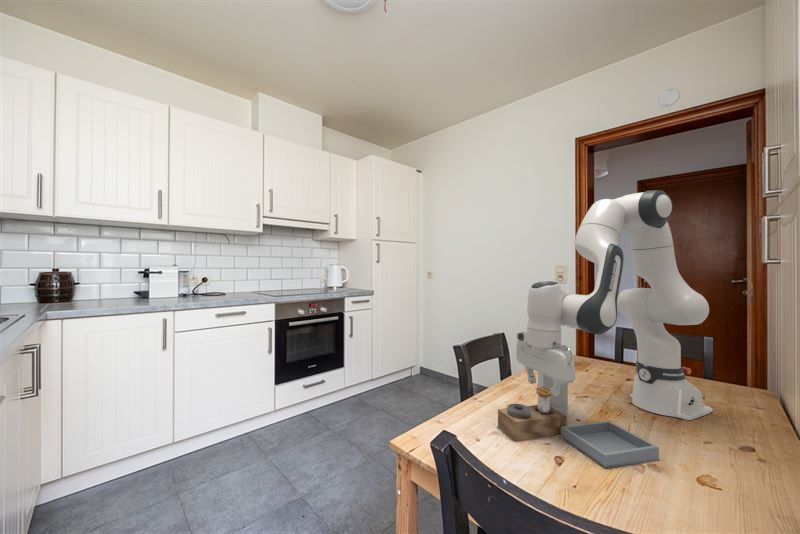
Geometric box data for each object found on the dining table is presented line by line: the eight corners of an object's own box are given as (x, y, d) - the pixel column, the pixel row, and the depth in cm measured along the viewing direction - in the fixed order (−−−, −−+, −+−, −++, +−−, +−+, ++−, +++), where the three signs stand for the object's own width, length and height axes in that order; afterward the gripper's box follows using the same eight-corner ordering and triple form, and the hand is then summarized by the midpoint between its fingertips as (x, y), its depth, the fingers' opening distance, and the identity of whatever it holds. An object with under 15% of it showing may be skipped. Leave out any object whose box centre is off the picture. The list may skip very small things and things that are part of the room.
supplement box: (568, 416, 97) (568, 375, 98) (542, 414, 99) (542, 373, 99) (561, 406, 105) (561, 368, 105) (537, 404, 106) (537, 366, 106)
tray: (608, 431, 88) (608, 420, 89) (658, 459, 75) (658, 446, 75) (560, 438, 85) (561, 426, 85) (605, 468, 72) (605, 455, 72)
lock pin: (545, 424, 92) (545, 386, 92) (554, 431, 88) (555, 391, 88) (533, 426, 91) (533, 387, 91) (542, 433, 87) (542, 393, 87)
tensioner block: (546, 421, 94) (546, 395, 94) (566, 434, 87) (566, 407, 87) (497, 426, 90) (498, 400, 91) (514, 441, 83) (514, 412, 83)
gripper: (582, 347, 80) (581, 402, 80) (530, 332, 100) (529, 376, 100) (561, 348, 79) (560, 404, 79) (512, 332, 99) (512, 377, 99)
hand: (542, 388), depth 90 cm, fingers open, 8 cm apart
